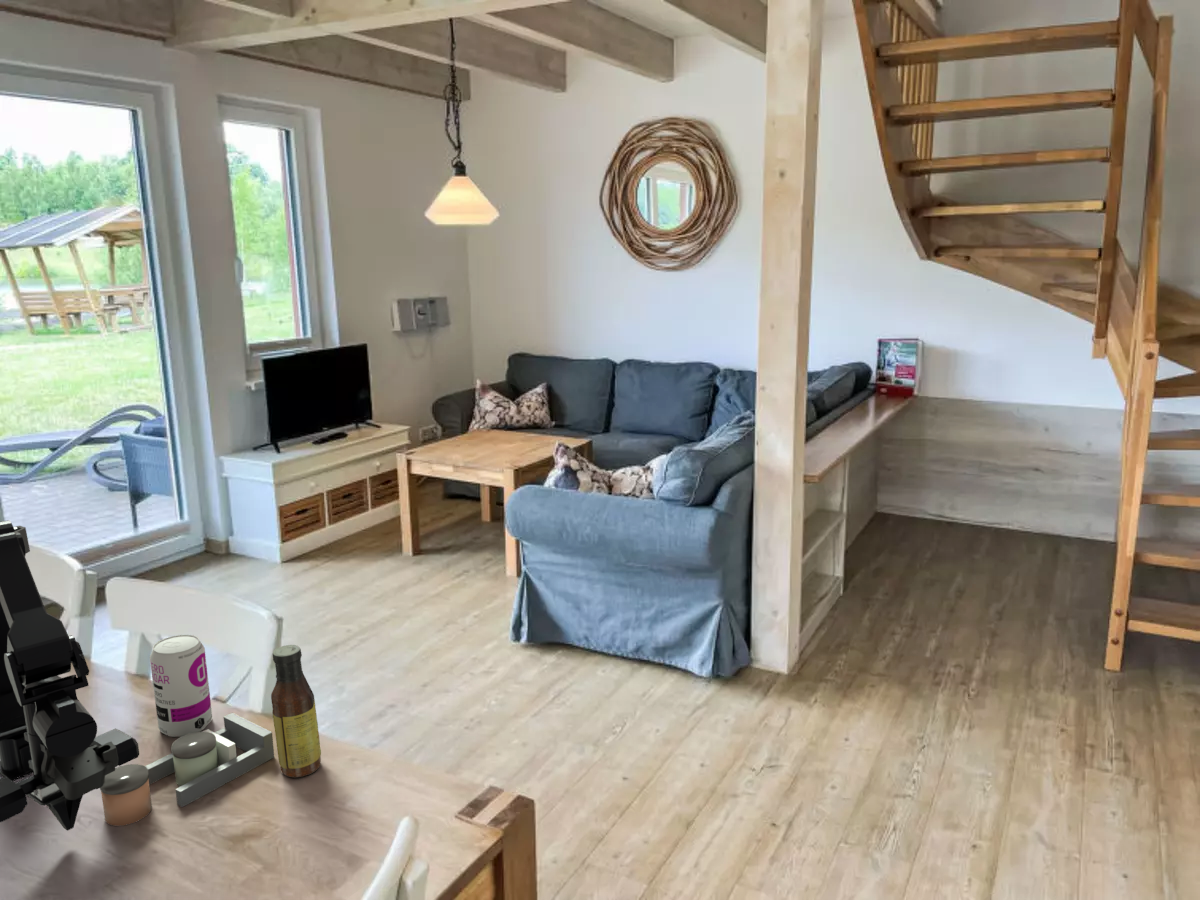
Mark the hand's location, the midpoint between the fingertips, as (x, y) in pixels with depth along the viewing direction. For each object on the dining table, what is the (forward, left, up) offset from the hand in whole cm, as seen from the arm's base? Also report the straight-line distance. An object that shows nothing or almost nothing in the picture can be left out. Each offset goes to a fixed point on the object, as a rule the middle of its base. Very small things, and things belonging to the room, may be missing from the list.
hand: (68, 828), depth 123 cm
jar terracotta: (0, +8, -2) cm, 8 cm away
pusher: (0, +23, -2) cm, 23 cm away
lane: (0, +20, -2) cm, 20 cm away
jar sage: (0, +19, -2) cm, 19 cm away
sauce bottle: (+11, +29, -2) cm, 31 cm away
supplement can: (-15, +26, -2) cm, 30 cm away
